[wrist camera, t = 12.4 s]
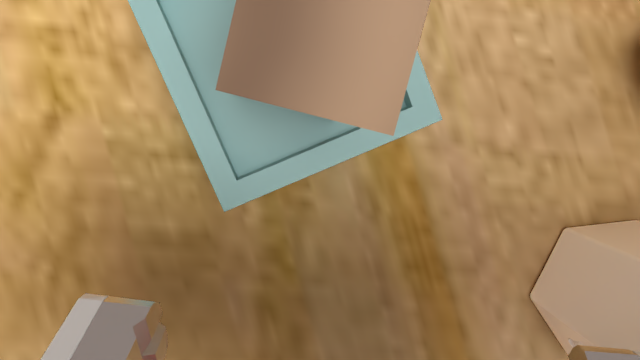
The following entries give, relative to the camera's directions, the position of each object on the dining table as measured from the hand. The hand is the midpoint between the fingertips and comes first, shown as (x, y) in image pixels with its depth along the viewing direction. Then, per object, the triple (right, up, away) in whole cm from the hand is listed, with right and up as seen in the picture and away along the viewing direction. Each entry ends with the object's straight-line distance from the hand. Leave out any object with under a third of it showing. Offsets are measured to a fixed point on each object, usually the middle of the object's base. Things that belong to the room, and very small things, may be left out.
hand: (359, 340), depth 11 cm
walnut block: (-2, +8, +12) cm, 15 cm away
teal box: (-3, +9, +18) cm, 20 cm away
